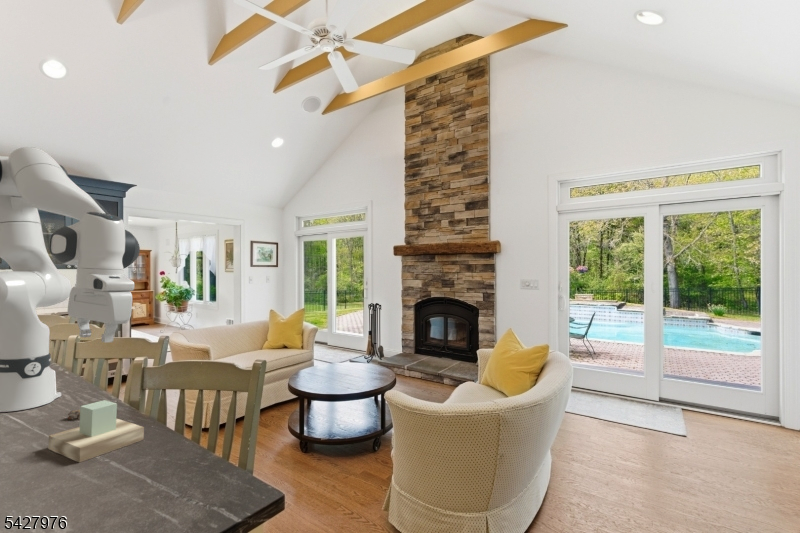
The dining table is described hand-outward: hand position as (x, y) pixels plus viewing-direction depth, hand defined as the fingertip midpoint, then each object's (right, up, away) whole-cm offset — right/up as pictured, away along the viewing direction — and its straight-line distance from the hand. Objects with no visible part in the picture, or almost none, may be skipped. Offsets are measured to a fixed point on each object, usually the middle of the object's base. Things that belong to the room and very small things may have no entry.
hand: (95, 339), depth 93 cm
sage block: (+2, -21, -2) cm, 21 cm away
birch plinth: (+2, -24, -2) cm, 24 cm away
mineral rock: (-13, -24, +16) cm, 32 cm away
